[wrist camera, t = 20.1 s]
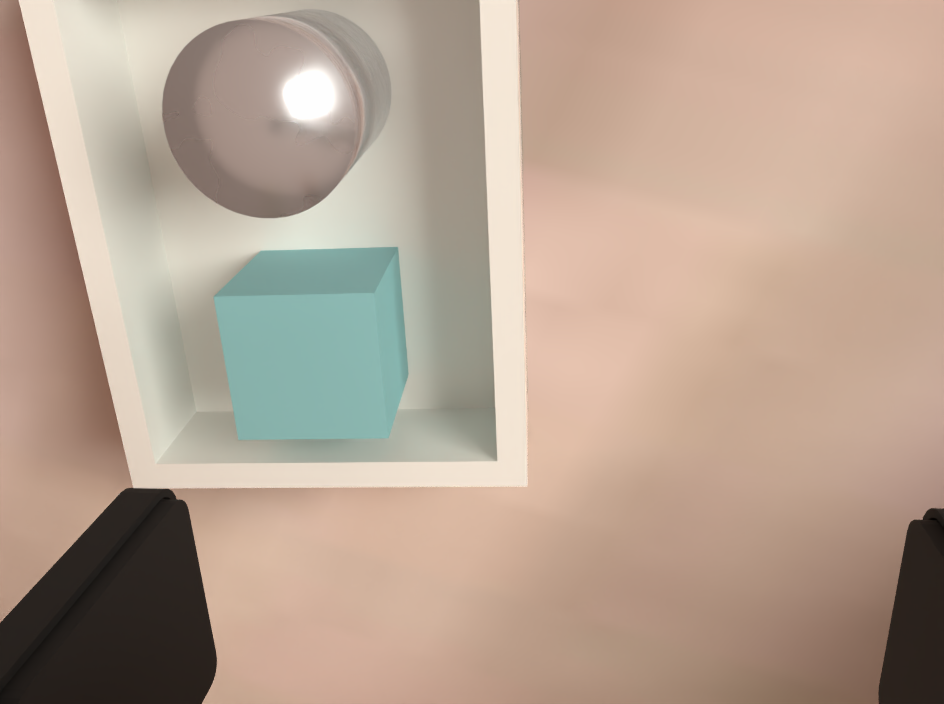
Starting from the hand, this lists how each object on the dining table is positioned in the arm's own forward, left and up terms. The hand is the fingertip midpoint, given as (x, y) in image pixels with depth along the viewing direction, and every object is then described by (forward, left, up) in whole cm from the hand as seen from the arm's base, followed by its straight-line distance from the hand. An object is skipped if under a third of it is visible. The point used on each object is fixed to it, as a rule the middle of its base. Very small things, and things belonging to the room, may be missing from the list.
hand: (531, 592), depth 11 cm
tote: (+7, -1, -21) cm, 22 cm away
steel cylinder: (+7, -5, -20) cm, 22 cm away
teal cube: (+7, +3, -20) cm, 22 cm away
